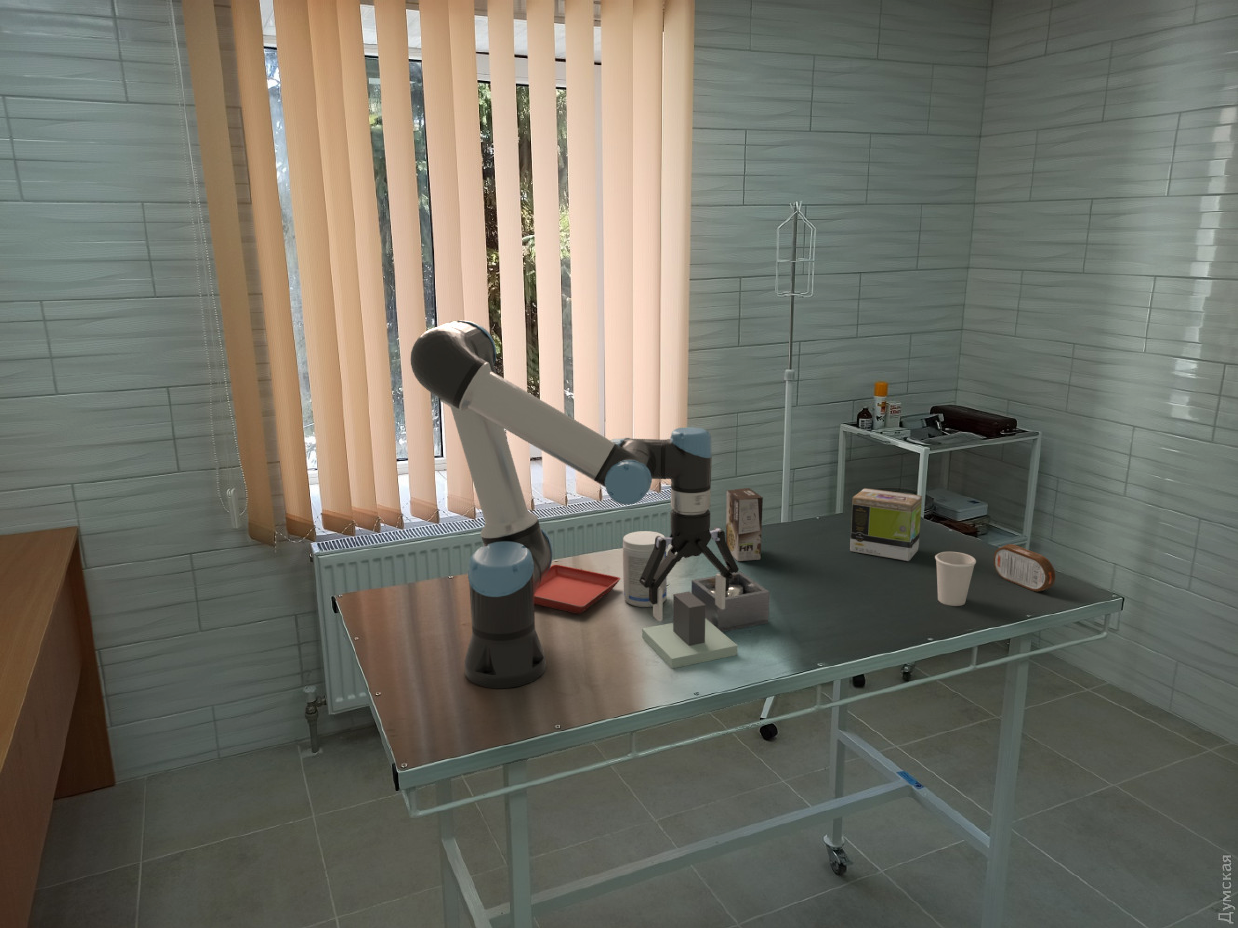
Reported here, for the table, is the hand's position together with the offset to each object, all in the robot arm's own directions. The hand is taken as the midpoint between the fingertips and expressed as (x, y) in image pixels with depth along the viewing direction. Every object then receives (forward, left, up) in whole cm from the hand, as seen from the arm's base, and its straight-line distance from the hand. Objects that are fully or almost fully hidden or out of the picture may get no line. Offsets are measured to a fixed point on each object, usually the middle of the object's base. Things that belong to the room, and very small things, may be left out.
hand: (689, 612), depth 175 cm
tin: (+84, -2, -8) cm, 84 cm away
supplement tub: (+1, +24, -7) cm, 25 cm away
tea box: (+69, +28, -8) cm, 75 cm away
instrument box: (+14, +9, -7) cm, 18 cm away
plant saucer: (-14, +33, -8) cm, 37 cm away
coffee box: (+35, +40, -7) cm, 54 cm away
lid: (0, 0, -7) cm, 7 cm away
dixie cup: (+63, -3, -7) cm, 64 cm away
